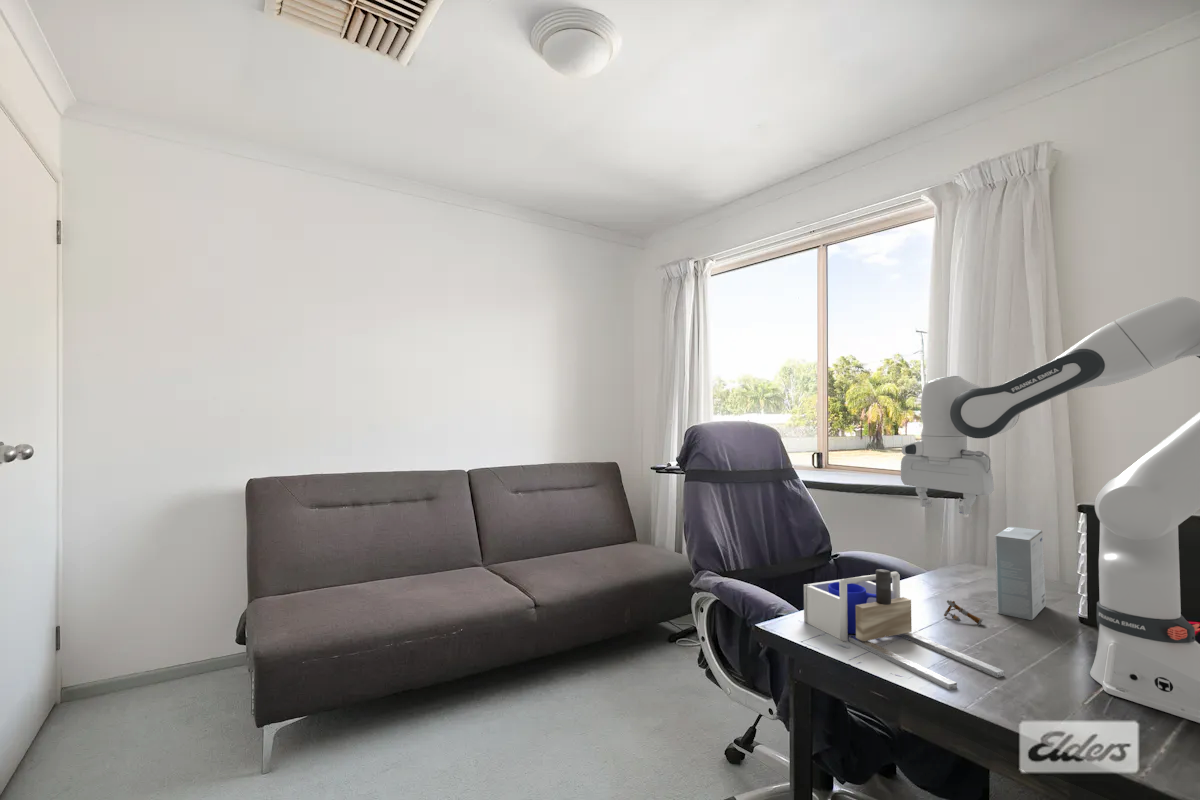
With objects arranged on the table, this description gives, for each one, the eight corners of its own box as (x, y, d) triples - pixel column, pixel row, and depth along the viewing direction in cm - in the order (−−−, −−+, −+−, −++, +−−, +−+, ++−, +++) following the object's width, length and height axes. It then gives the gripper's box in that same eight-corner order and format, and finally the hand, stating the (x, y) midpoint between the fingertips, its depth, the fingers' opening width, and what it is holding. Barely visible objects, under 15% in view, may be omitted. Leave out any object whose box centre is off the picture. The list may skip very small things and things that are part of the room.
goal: (902, 630, 133) (901, 572, 133) (843, 641, 127) (843, 580, 127) (858, 612, 145) (857, 558, 145) (803, 621, 139) (802, 565, 139)
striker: (913, 632, 128) (912, 569, 129) (864, 642, 123) (863, 576, 123) (902, 627, 131) (901, 566, 131) (854, 637, 126) (853, 572, 126)
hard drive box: (1010, 599, 154) (1009, 526, 155) (1046, 606, 149) (1044, 530, 149) (995, 613, 144) (994, 534, 144) (1033, 621, 138) (1031, 539, 139)
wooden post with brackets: (941, 611, 143) (949, 597, 142) (975, 632, 138) (984, 617, 136) (939, 613, 142) (947, 598, 140) (973, 634, 136) (982, 619, 135)
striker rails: (1004, 675, 110) (1004, 670, 110) (949, 689, 104) (949, 684, 105) (898, 631, 132) (898, 627, 132) (849, 641, 127) (849, 636, 127)
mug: (883, 643, 126) (882, 597, 126) (825, 632, 132) (824, 589, 132) (887, 631, 133) (886, 588, 133) (832, 621, 139) (831, 580, 139)
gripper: (1000, 451, 119) (1001, 517, 119) (914, 445, 138) (915, 502, 138) (979, 452, 117) (980, 519, 117) (895, 446, 136) (896, 504, 136)
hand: (944, 510), depth 127 cm, fingers open, 8 cm apart
